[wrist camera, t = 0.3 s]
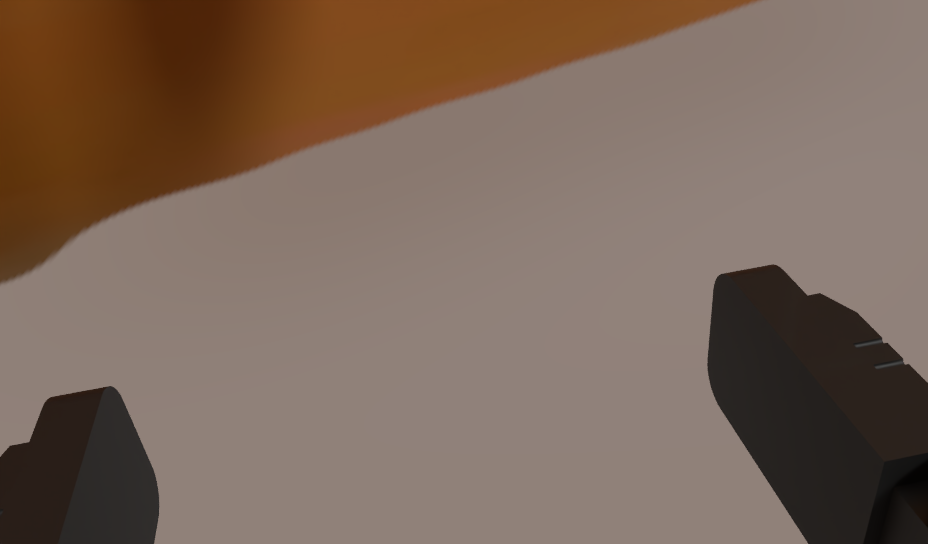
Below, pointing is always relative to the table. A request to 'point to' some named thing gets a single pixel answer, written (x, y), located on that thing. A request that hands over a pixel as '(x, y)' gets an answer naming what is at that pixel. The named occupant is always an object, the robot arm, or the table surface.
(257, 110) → the table surface
